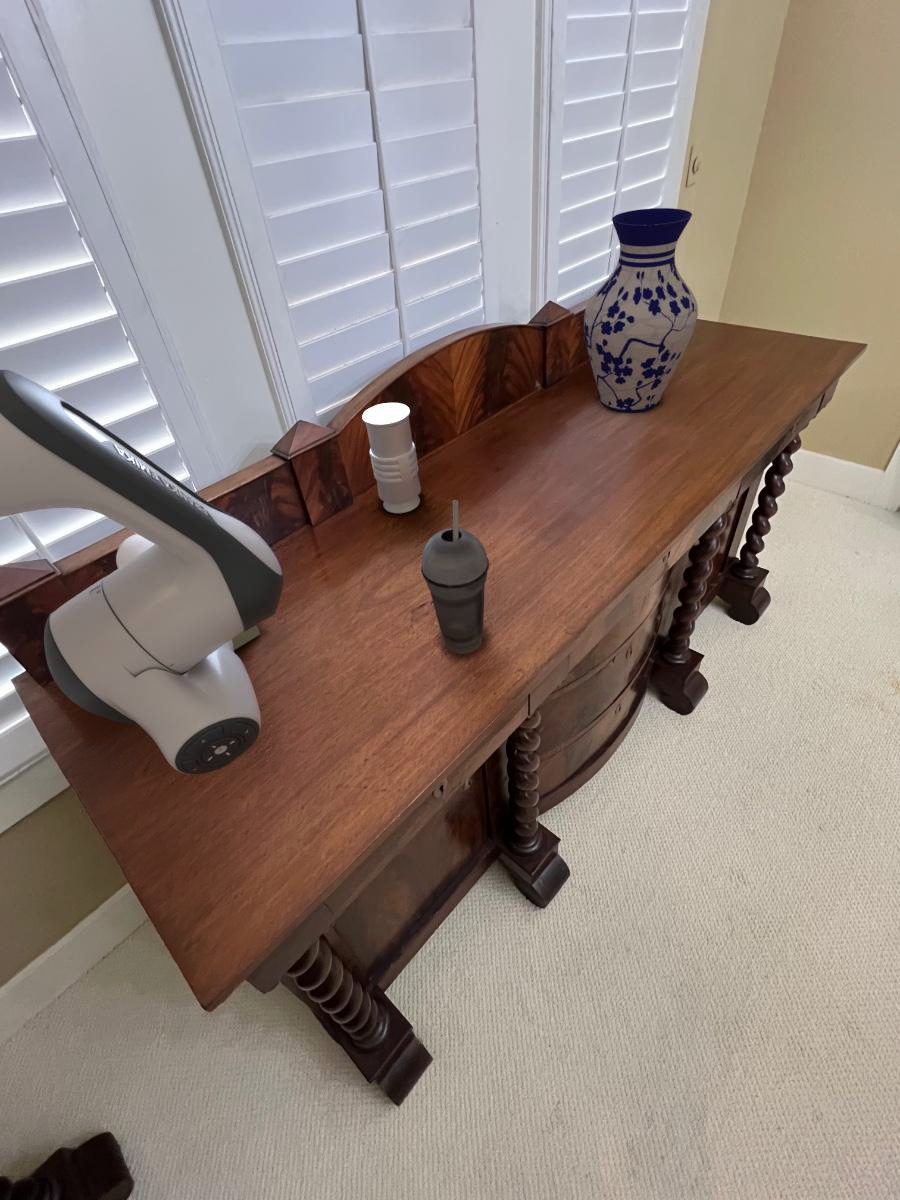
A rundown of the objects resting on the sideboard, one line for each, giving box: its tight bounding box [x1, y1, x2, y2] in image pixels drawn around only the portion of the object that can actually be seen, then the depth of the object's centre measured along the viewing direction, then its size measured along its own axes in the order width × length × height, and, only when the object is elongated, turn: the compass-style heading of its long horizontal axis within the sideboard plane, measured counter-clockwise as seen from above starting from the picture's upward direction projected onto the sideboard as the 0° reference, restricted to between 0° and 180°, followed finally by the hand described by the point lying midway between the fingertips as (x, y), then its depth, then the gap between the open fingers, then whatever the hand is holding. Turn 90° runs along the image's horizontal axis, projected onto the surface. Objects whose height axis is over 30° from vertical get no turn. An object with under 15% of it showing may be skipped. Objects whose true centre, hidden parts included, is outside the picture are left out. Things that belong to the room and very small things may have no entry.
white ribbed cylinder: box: [362, 402, 422, 514], centre depth 88 cm, size 7×7×15 cm
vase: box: [583, 207, 699, 414], centre depth 102 cm, size 19×19×30 cm
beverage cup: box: [420, 500, 490, 655], centre depth 63 cm, size 7×7×20 cm
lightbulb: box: [115, 533, 155, 569], centre depth 67 cm, size 6×6×11 cm
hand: (153, 569), depth 68 cm, fingers closed on lightbulb, 6 cm apart
